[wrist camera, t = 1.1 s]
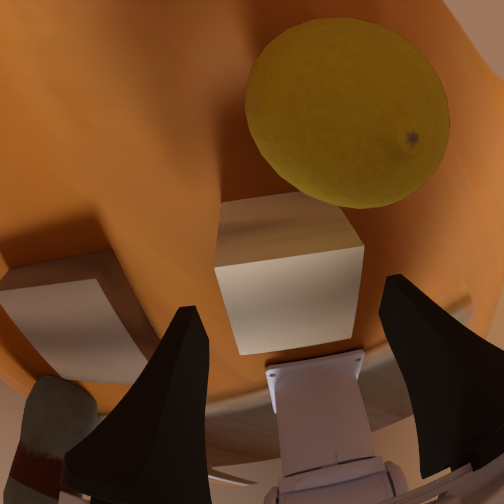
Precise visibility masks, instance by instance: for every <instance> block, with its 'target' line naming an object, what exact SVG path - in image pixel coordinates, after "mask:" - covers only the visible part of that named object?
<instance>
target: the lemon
mask: <svg viewBox="0 0 504 504" xmlns="http://www.w3.org/2000/svg"><path fill="white" fill-rule="evenodd" d="M245 112H246V117H247V122H248V126H249V131H250V133H251V135H252V137H253V139H254V141H255V143H256V145H257V147H258V149H259V151H260V153H261V155H262V156H263V157H264V158H265V159H266V161H267V162H268V163H269V164H270V165H271V166H272V167H273V169H274V170H275V171H276V172H277V173H278V174H279V176H281V177H282V178H283V179H285V180H286V181H287V182H289V183H290V184H292V185H293V186H295V187H296V188H297V189H299V190H300V191H301V192H303V193H305V194H306V195H309V196H311V197H314V198H316V199H319V200H321V201H324V202H326V203H329V204H331V205H335V206H342V207H349V208H356V209H365V208H374V207H382V206H386V205H389V204H392V203H394V202H397V201H400V200H403V199H404V198H406V197H407V196H409V195H410V194H412V193H413V192H415V191H416V190H418V189H419V188H420V187H421V186H422V185H423V184H424V183H425V182H426V181H427V180H428V179H429V178H430V177H431V176H432V175H433V173H434V172H435V170H436V168H437V167H438V165H439V163H440V161H441V160H442V158H443V155H444V152H445V149H446V146H447V142H448V136H449V127H450V118H449V109H448V101H447V97H446V94H445V91H444V89H443V86H442V83H441V80H440V79H439V77H438V75H437V74H436V72H435V70H434V69H433V67H432V66H431V64H430V63H429V61H428V60H427V59H426V57H425V56H424V55H423V54H422V53H421V52H420V51H419V50H418V49H417V48H416V47H415V46H414V45H412V44H411V43H410V42H409V41H408V40H407V39H405V38H403V37H402V36H400V35H398V34H396V33H395V32H393V31H391V30H389V29H387V28H385V27H383V26H381V25H378V24H375V23H372V22H367V21H363V20H359V19H354V18H348V17H334V18H320V19H313V20H310V21H307V22H304V23H302V24H299V25H296V26H294V27H291V28H289V29H287V30H286V31H284V32H283V33H281V34H280V35H279V36H277V37H276V38H275V39H274V40H272V41H271V42H270V43H268V44H267V45H266V47H265V48H264V50H263V51H262V52H261V54H260V55H259V56H258V58H257V59H256V61H255V62H254V64H253V66H252V69H251V72H250V75H249V78H248V81H247V84H246V94H245Z"/></svg>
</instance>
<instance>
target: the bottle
mask: <svg viewBox="0 0 504 504" xmlns="http://www.w3.org/2000/svg"><path fill="white" fill-rule="evenodd" d="M96 426H97V404H96V401H95V400H94V398H93V397H92V396H90V395H89V394H88V393H87V392H86V391H84V390H82V389H81V388H79V387H78V386H76V385H74V384H72V383H70V382H68V381H66V380H63V379H61V378H58V377H55V376H51V375H43V376H41V377H40V378H39V379H38V381H37V382H36V383H35V384H34V386H33V388H32V390H31V392H30V394H29V396H28V398H27V400H26V404H25V409H24V414H23V419H22V427H21V435H20V441H19V444H18V447H17V450H16V454H15V456H14V460H13V463H12V466H11V470H10V473H9V477H8V480H7V483H6V487H5V489H4V493H3V495H4V496H3V497H4V498H3V502H4V504H59V495H60V492H61V491H63V492H66V493H69V494H71V495H74V496H77V497H80V498H82V493H79V492H76V491H73V490H71V489H68V488H65V487H63V486H61V485H60V477H61V471H62V466H63V460H64V455H65V453H67V452H68V451H69V450H71V449H72V448H73V447H74V446H76V445H77V444H78V443H79V442H80V441H82V440H83V439H84V438H85V437H86V436H88V435H89V434H90V433H91V432H92V431H93V430H94V429H95V428H96Z"/></svg>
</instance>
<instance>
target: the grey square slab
mask: <svg viewBox="0 0 504 504" xmlns="http://www.w3.org/2000/svg"><path fill="white" fill-rule="evenodd" d="M0 304H1V306H2V307H3V308H4V310H5V311H6V313H7V314H8V315H9V317H10V318H11V319H12V321H13V322H14V323H15V325H16V326H17V327H18V329H19V330H20V331H21V332H22V334H23V335H24V336H25V337H26V338H27V340H28V341H29V342H30V343H31V344H32V346H33V347H34V348H35V349H36V350H37V351H38V353H39V354H40V355H41V356H42V357H43V358H44V359H45V360H46V361H47V362H48V363H49V365H50V366H51V367H52V368H53V369H54V370H55V371H56V372H57V373H58V374H59V375H60V376H61V377H62V378H63V379H68V380H77V381H87V382H99V383H113V384H134V383H135V381H136V380H137V378H138V377H139V375H140V374H141V372H142V371H143V369H144V368H145V366H146V364H147V363H148V361H149V360H150V358H151V357H152V355H153V353H154V352H155V350H156V348H157V346H158V345H159V343H160V340H159V338H158V337H157V335H156V333H155V331H154V330H153V328H152V326H151V324H150V323H149V321H148V319H147V317H146V315H145V314H144V312H143V310H142V308H141V306H140V304H139V302H138V300H137V299H136V297H135V295H134V293H133V291H132V289H131V287H130V285H129V283H128V281H127V279H126V277H125V275H124V273H123V271H122V268H121V266H120V264H119V262H118V260H117V258H116V256H115V253H114V251H113V249H109V250H104V251H98V252H93V253H88V254H82V255H77V256H72V257H66V258H61V259H56V260H51V261H46V262H41V263H36V264H31V265H26V266H22V267H17V268H12V269H9V270H8V272H7V273H6V274H5V275H4V277H3V278H2V279H1V281H0Z"/></svg>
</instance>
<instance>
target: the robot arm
mask: <svg viewBox="0 0 504 504" xmlns="http://www.w3.org/2000/svg"><path fill="white" fill-rule="evenodd" d="M379 316H380V320H381V323H382V326H383V329H384V332H385V336H386V338H387V340H388V342H389V345H390V347H391V349H392V352H393V354H394V356H395V359H396V361H397V363H398V366H399V368H400V370H401V373H402V375H403V378H404V380H405V383H406V386H407V389H408V392H409V396H410V400H411V404H412V408H413V413H414V418H415V423H416V429H417V436H418V444H419V455H420V473H421V476H422V479H425V478H427V477H429V476H432V475H434V474H436V473H438V472H440V471H442V470H444V469H446V468H448V467H450V468H451V473H449V474H447V475H445V476H443V477H441V478H439V479H437V480H434V481H432V482H430V483H428V484H426V485H423V486H421V487H419V488H416V489H414V490H411V491H409V488H408V484H407V481H406V478H405V475H404V473H403V471H402V469H401V468H400V467H399V466H398V465H396V464H394V463H393V462H391V461H386V462H384V461H383V458H382V456H378V457H377V454H376V449H375V445H374V441H373V438H372V434H371V430H370V426H369V422H368V418H367V414H366V411H365V407H364V404H363V400H362V397H361V393H360V390H359V386H358V383H357V379H358V376H359V372H360V369H361V366H362V363H363V359H364V356H365V353H364V351H363V350H355V351H351V352H346V353H341V354H336V355H331V356H326V357H320V358H315V359H309V360H303V361H297V362H290V363H283V364H276V365H270V366H267V367H266V368H265V372H266V377H267V382H268V386H269V391H270V396H271V400H272V405H273V409H274V413H277V423H278V432H279V442H280V452H281V462H282V472H283V478H279V479H278V486H274V487H272V488H271V490H270V491H269V492H268V493H267V495H266V496H265V499H264V503H263V504H420V503H422V502H424V501H427V500H429V499H431V498H433V497H435V496H437V495H439V496H438V499H437V500H434V501H431V502H428V503H425V504H504V351H503V350H501V349H500V348H498V347H496V346H494V345H493V344H491V343H489V342H487V341H486V340H484V339H483V338H481V337H480V336H478V335H477V334H475V333H474V332H472V331H471V330H469V329H468V328H467V327H465V326H464V325H462V324H461V323H460V322H459V321H457V320H456V319H455V318H453V317H452V316H451V315H449V314H448V313H447V312H446V311H444V310H443V309H442V308H441V307H440V306H438V305H437V304H436V303H435V302H434V301H432V300H431V299H430V298H429V297H428V296H427V295H425V294H424V293H423V292H422V291H421V290H419V289H418V288H417V287H416V286H415V285H414V284H412V283H411V282H410V281H409V280H408V279H406V278H405V277H404V276H403V275H401V274H397V275H392V276H387V278H386V283H385V287H384V292H383V296H382V301H381V305H380V309H379ZM208 374H209V338H208V336H207V334H206V331H205V329H204V326H203V324H202V321H201V319H200V316H199V314H198V311H197V309H196V306H185V307H179V309H178V310H177V312H176V314H175V315H174V317H173V319H172V321H171V323H170V325H169V327H168V329H167V330H166V332H165V334H164V336H163V338H162V339H161V341H160V343H159V345H158V346H157V348H156V350H155V352H154V353H153V355H152V357H151V358H150V360H149V361H148V363H147V364H146V366H145V368H144V369H143V371H142V372H141V374H140V375H139V377H138V378H137V380H136V381H135V383H134V384H133V385H132V387H131V388H130V389H129V391H128V392H127V393H126V395H125V396H124V397H123V398H122V400H121V401H120V402H119V403H118V404H117V406H116V407H115V408H114V409H113V410H112V411H111V413H110V414H109V415H108V416H107V417H106V418H105V419H104V420H103V421H102V422H101V423H100V424H99V425H98V426H97V427H96V428H95V429H94V430H93V431H92V432H91V433H90V434H89V435H88V436H86V437H85V438H84V439H83V440H82V441H80V442H79V443H78V444H77V445H76V446H74V447H73V448H72V449H71V450H69V451H68V452H67V453H65V455H64V460H63V466H62V471H61V477H60V485H61V486H63V487H65V488H68V489H71V490H73V491H76V492H79V493H82V494H85V495H88V496H91V500H85V499H82V498H80V497H77V496H74V495H71V494H69V493H66V492H63V491H61V492H60V495H59V504H212V501H211V495H210V488H209V481H208V472H207V462H206V447H205V406H206V395H207V385H208Z"/></svg>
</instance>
